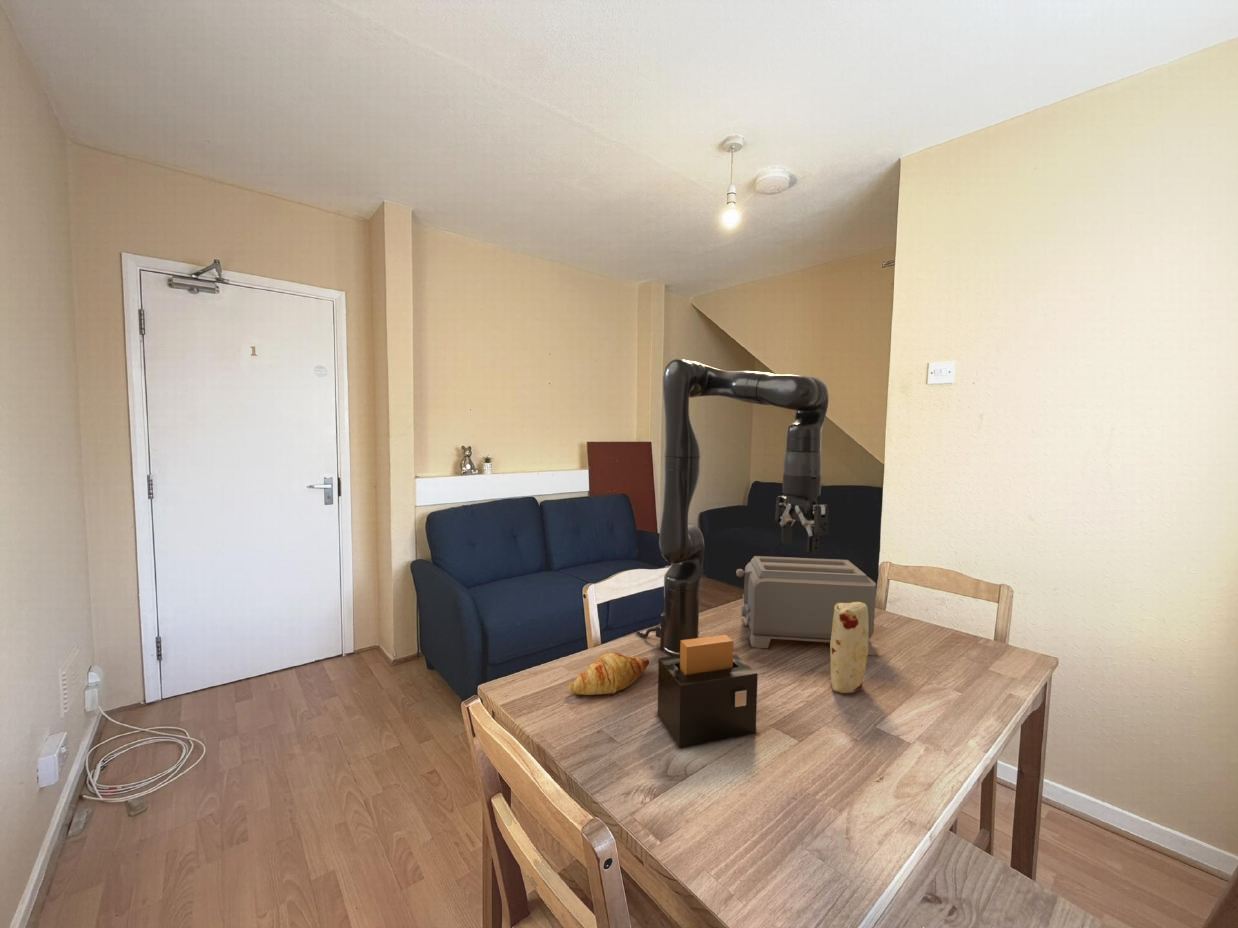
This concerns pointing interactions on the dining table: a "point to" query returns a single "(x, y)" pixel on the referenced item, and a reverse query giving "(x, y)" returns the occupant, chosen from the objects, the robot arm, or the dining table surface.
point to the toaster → (801, 597)
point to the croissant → (609, 674)
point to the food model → (849, 646)
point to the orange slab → (706, 654)
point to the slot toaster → (706, 702)
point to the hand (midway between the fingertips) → (799, 548)
